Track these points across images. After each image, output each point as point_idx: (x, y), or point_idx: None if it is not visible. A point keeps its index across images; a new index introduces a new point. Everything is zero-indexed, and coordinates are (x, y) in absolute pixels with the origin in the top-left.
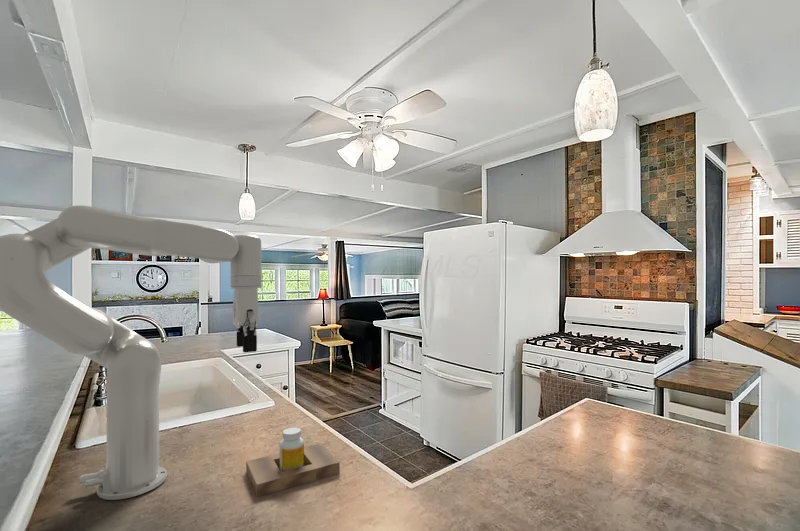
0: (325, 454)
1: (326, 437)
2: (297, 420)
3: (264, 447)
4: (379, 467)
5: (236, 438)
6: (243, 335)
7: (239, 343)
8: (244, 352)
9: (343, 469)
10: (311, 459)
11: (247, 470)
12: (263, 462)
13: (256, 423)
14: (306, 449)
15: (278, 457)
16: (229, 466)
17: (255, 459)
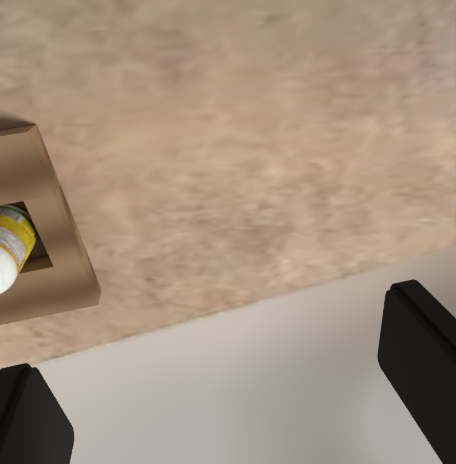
0: (28, 308)
1: (188, 303)
2: (329, 253)
3: (186, 171)
4: None
5: (287, 95)
6: (448, 420)
7: (401, 318)
8: (10, 368)
9: None
10: None
11: (15, 130)
12: (8, 176)
13: (373, 153)
14: (69, 274)
15: (34, 213)
16: (88, 77)
17: (35, 156)
